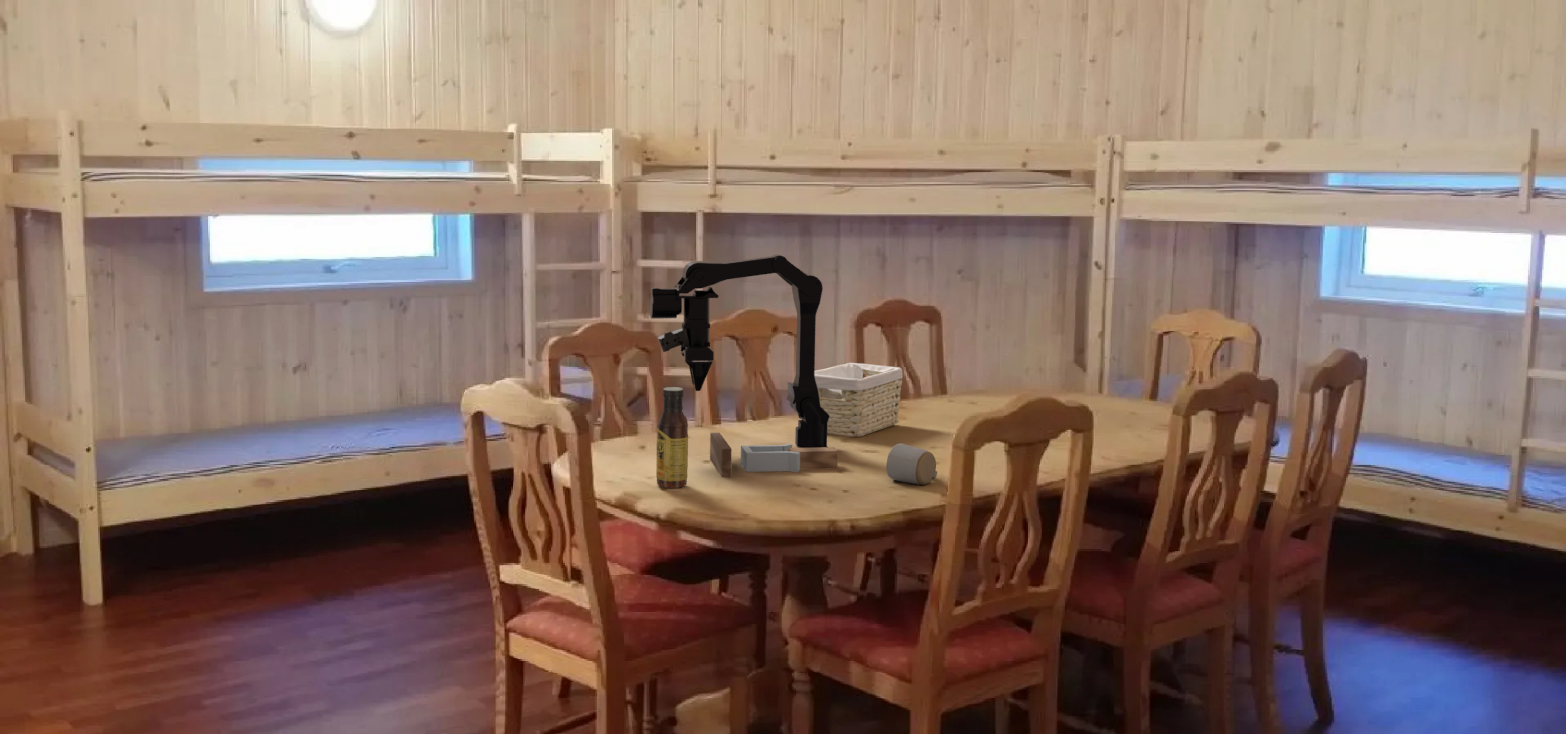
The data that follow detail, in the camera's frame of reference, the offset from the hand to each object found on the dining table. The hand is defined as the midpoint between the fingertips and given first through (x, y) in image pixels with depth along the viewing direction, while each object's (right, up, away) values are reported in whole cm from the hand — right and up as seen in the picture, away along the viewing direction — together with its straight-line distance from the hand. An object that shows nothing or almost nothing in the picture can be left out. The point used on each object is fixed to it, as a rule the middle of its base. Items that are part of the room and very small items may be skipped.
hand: (696, 387), depth 323 cm
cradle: (+17, -17, -14) cm, 28 cm away
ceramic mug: (+46, -19, -25) cm, 56 cm away
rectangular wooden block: (+26, -17, -13) cm, 33 cm away
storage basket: (+37, -11, +34) cm, 51 cm away
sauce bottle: (-3, -19, -34) cm, 39 cm away
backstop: (+6, -17, -16) cm, 24 cm away
